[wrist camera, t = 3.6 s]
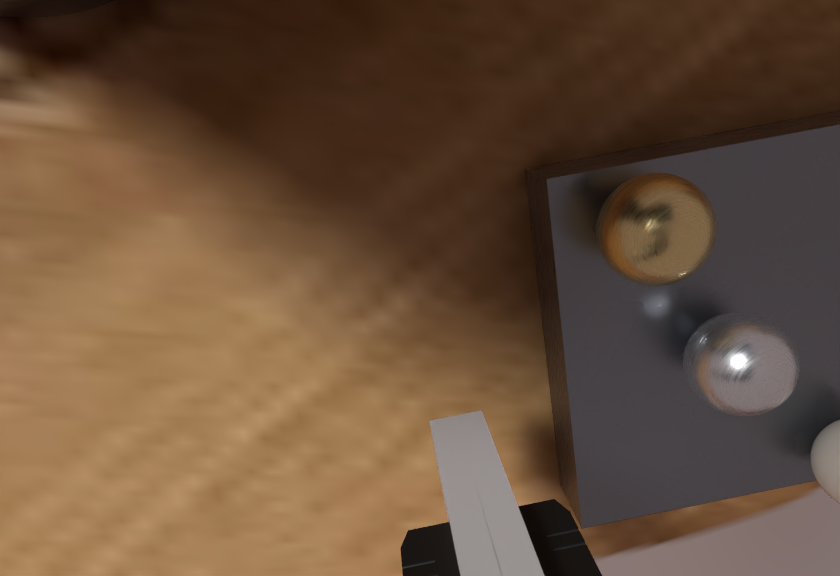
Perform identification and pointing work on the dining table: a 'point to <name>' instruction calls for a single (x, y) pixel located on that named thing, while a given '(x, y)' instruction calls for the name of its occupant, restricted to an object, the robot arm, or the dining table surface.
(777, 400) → the steel ball
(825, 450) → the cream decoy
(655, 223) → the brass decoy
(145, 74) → the dining table surface
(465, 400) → the dining table surface
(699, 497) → the plate
